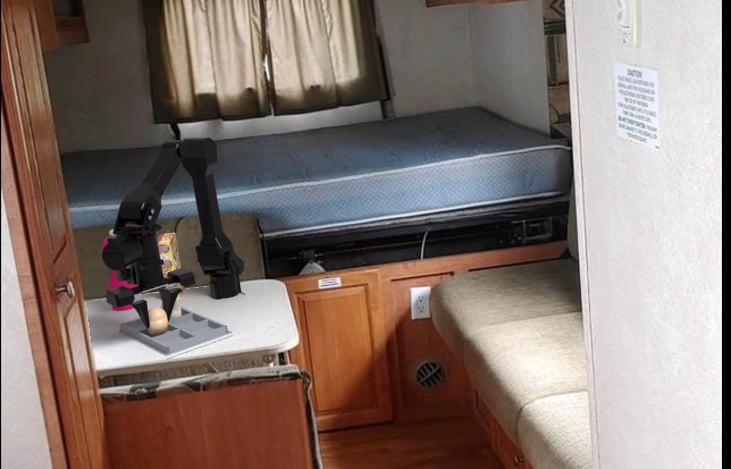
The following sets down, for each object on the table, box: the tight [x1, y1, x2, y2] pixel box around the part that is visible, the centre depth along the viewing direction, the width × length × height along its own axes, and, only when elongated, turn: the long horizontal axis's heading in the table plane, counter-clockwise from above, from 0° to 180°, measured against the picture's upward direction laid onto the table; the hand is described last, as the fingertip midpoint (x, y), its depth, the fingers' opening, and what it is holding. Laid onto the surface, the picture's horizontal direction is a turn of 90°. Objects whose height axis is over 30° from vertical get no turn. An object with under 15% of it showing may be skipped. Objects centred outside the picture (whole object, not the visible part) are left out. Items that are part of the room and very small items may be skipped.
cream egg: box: [160, 299, 182, 320], centre depth 216 cm, size 4×4×5 cm
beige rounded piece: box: [148, 306, 169, 334], centre depth 206 cm, size 4×4×5 cm
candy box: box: [157, 232, 185, 300], centre depth 233 cm, size 9×4×15 cm, turn 2°
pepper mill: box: [101, 228, 137, 312], centre depth 227 cm, size 7×7×20 cm
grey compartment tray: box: [117, 306, 234, 360], centre depth 209 cm, size 16×23×2 cm
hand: (157, 324), depth 206 cm, fingers closed on beige rounded piece, 4 cm apart
